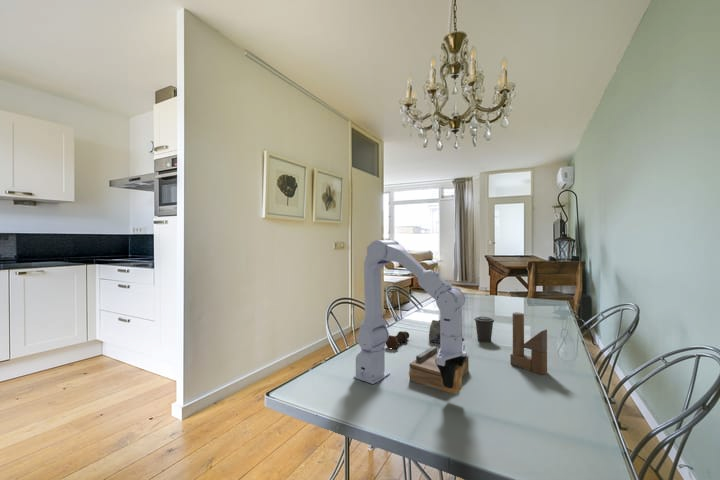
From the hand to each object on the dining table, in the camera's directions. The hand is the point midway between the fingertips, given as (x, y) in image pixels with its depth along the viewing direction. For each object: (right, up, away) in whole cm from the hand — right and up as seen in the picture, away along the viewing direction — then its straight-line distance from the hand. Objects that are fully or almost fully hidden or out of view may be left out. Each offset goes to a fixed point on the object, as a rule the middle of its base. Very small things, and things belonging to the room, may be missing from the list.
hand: (451, 383), depth 84 cm
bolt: (-8, -5, +47) cm, 48 cm away
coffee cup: (+29, -5, +51) cm, 59 cm away
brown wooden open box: (+1, -5, +16) cm, 17 cm away
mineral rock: (+11, -5, +48) cm, 50 cm away
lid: (+1, -2, +16) cm, 16 cm away
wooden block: (+32, -5, +21) cm, 39 cm away
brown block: (0, -1, 0) cm, 1 cm away
